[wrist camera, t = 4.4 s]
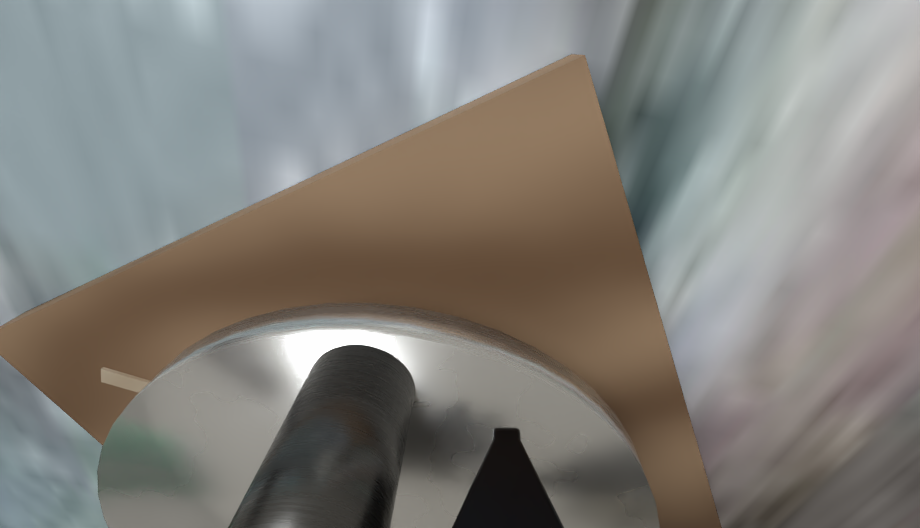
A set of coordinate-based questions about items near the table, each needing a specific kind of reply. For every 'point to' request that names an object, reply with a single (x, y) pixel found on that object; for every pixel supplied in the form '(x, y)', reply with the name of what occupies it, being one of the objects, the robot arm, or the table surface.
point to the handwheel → (359, 427)
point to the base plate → (412, 270)
